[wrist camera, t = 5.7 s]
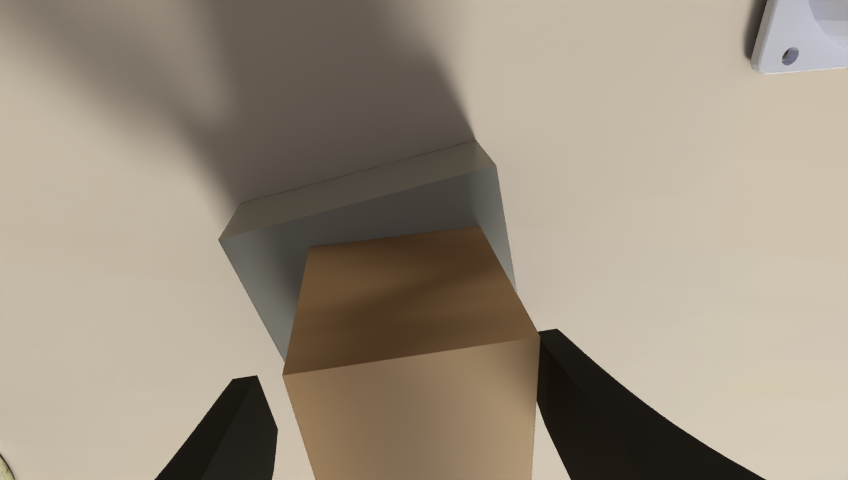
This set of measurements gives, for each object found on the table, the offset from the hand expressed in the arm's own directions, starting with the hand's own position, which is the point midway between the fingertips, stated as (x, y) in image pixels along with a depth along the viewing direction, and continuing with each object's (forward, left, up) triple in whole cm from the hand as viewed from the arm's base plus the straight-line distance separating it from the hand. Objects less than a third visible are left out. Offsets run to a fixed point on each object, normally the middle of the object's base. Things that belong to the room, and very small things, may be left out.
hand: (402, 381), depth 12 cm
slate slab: (0, 0, -6) cm, 6 cm away
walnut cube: (0, 0, -3) cm, 3 cm away
